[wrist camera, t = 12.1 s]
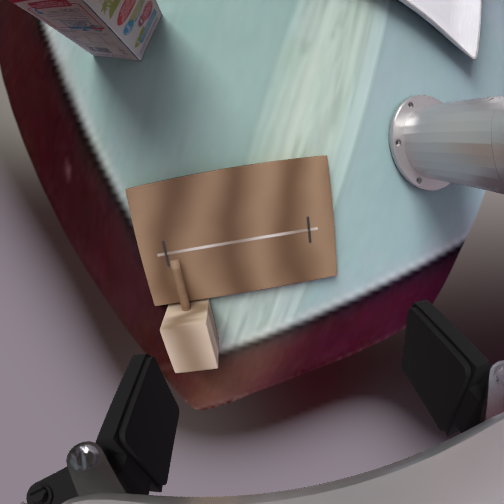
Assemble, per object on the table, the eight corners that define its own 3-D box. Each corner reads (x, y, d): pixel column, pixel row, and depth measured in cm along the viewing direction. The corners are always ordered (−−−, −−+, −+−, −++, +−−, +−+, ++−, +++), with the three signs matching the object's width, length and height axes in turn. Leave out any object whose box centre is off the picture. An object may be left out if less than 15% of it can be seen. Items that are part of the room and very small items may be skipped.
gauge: (198, 250, 33) (192, 269, 27) (218, 338, 37) (218, 368, 31) (156, 257, 33) (143, 277, 27) (181, 343, 37) (175, 372, 31)
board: (323, 155, 31) (327, 155, 30) (333, 271, 36) (337, 275, 35) (128, 188, 31) (125, 189, 29) (157, 301, 35) (154, 306, 34)
